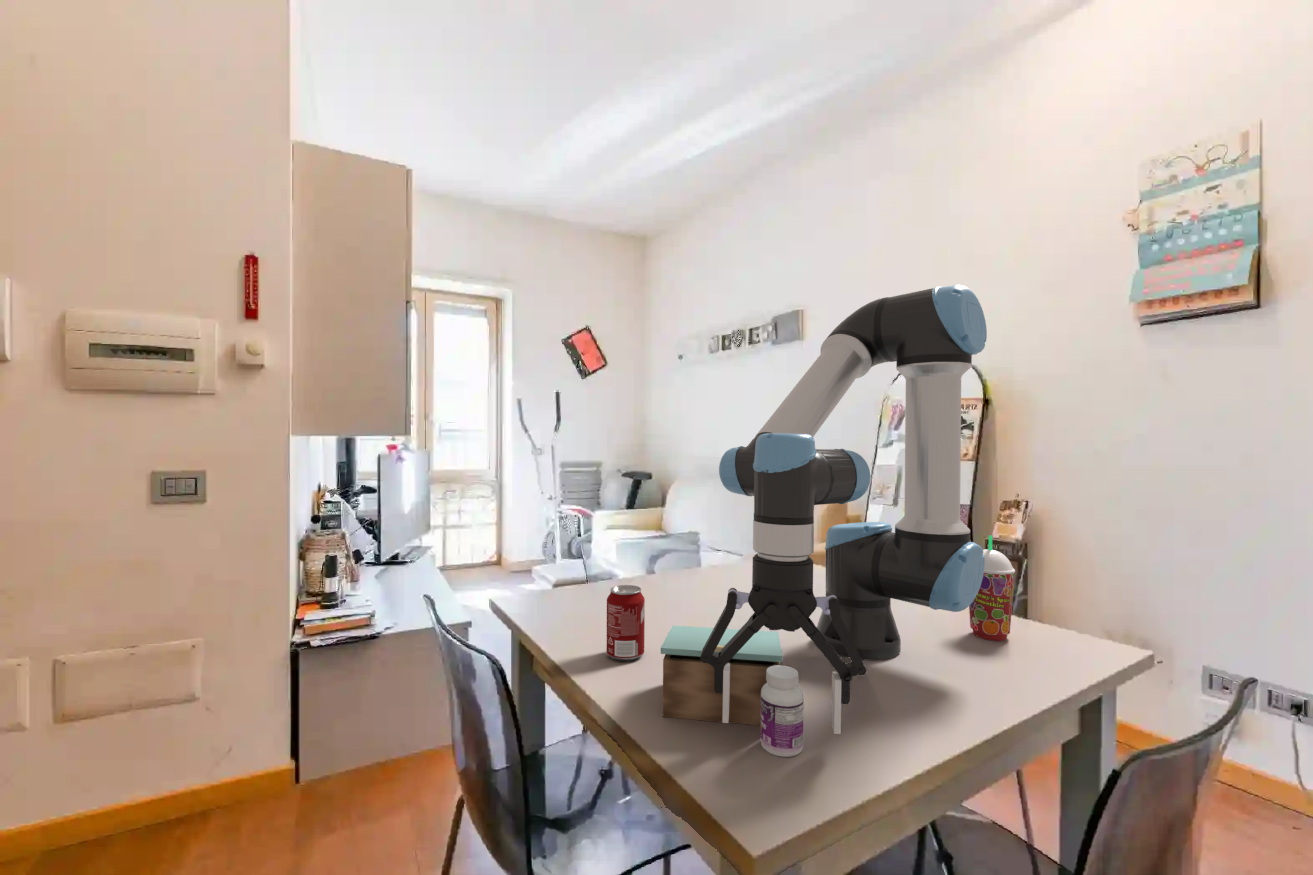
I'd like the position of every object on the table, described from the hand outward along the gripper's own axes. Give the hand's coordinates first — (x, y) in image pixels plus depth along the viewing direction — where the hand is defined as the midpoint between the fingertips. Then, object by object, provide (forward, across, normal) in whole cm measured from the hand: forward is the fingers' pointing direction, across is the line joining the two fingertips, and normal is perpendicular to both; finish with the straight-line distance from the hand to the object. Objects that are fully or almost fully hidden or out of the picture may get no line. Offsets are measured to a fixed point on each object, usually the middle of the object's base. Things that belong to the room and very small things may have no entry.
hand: (780, 723), depth 73 cm
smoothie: (+2, -43, -49) cm, 66 cm away
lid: (-6, +8, -11) cm, 15 cm away
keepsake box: (+3, +8, -11) cm, 14 cm away
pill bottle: (+3, 0, 0) cm, 3 cm away
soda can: (+3, +26, -26) cm, 37 cm away
